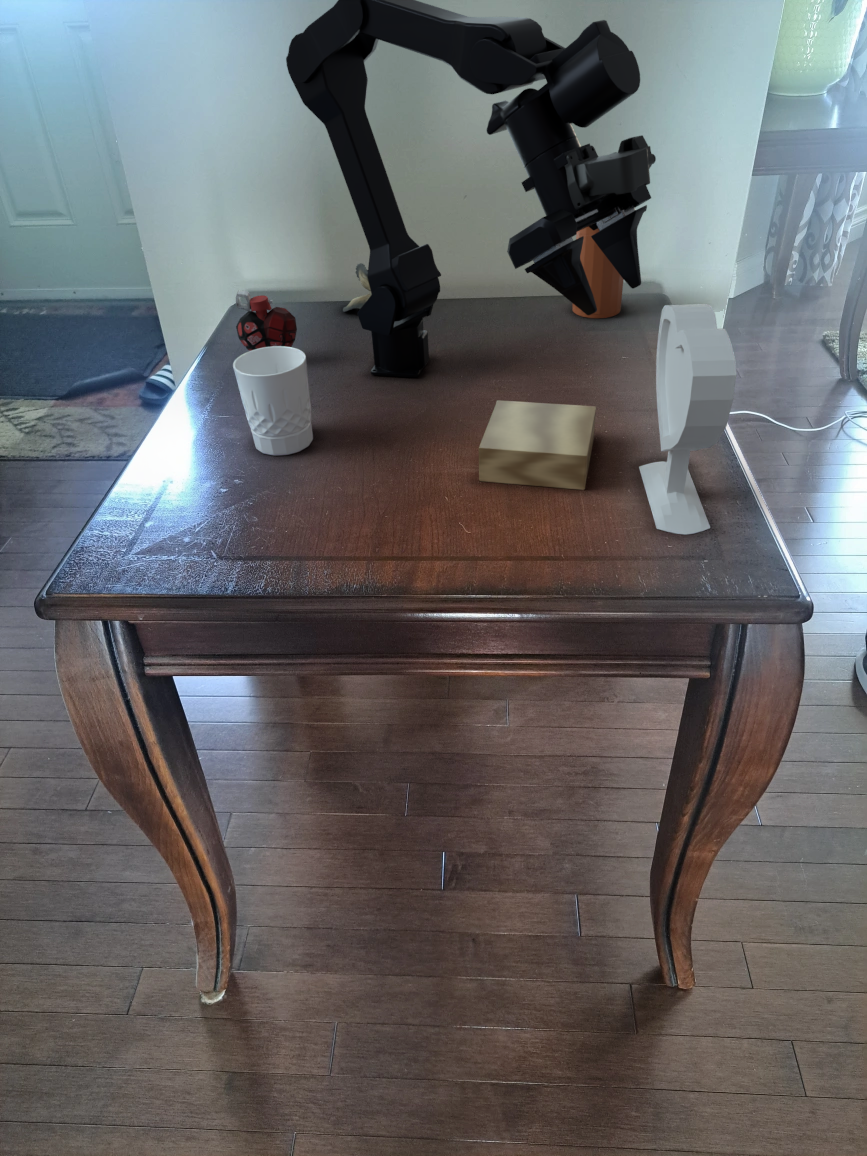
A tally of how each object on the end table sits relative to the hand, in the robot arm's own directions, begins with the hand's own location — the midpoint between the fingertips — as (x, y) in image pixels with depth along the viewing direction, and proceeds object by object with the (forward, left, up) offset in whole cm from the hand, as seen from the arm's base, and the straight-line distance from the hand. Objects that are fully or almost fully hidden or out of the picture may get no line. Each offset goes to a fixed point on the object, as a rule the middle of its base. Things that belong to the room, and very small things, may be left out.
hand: (615, 299), depth 86 cm
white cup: (-36, -9, -15) cm, 40 cm away
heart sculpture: (+8, -13, -15) cm, 22 cm away
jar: (-4, +37, -15) cm, 40 cm away
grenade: (-46, +12, -15) cm, 50 cm away
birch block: (-6, -8, -15) cm, 18 cm away
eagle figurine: (-38, +33, -15) cm, 53 cm away
